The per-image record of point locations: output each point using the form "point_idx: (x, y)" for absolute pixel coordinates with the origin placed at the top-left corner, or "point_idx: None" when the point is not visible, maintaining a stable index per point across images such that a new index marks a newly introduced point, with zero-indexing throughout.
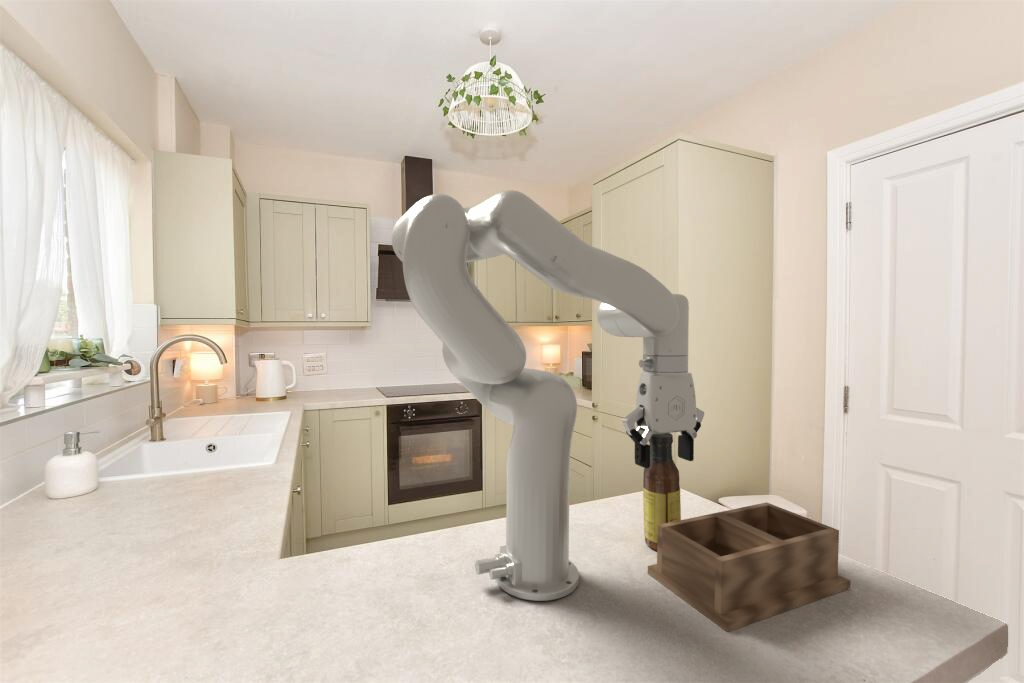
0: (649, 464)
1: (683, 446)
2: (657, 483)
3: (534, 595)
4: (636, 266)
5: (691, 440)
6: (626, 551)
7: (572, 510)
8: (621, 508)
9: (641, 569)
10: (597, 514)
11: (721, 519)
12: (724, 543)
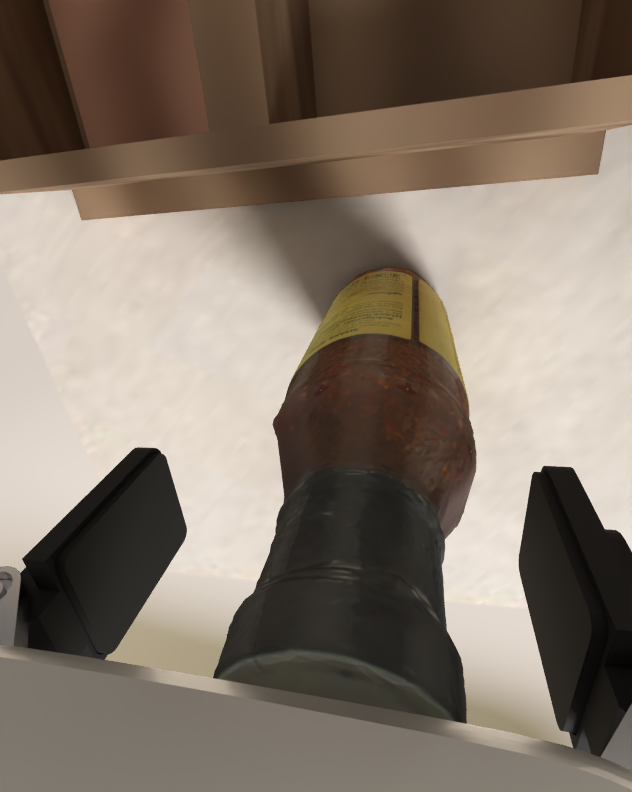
0: (550, 479)
1: (132, 558)
2: (453, 396)
3: None
4: None
5: (54, 553)
6: (528, 332)
7: (483, 586)
8: None
9: (582, 209)
10: None
11: (265, 83)
12: (294, 77)
